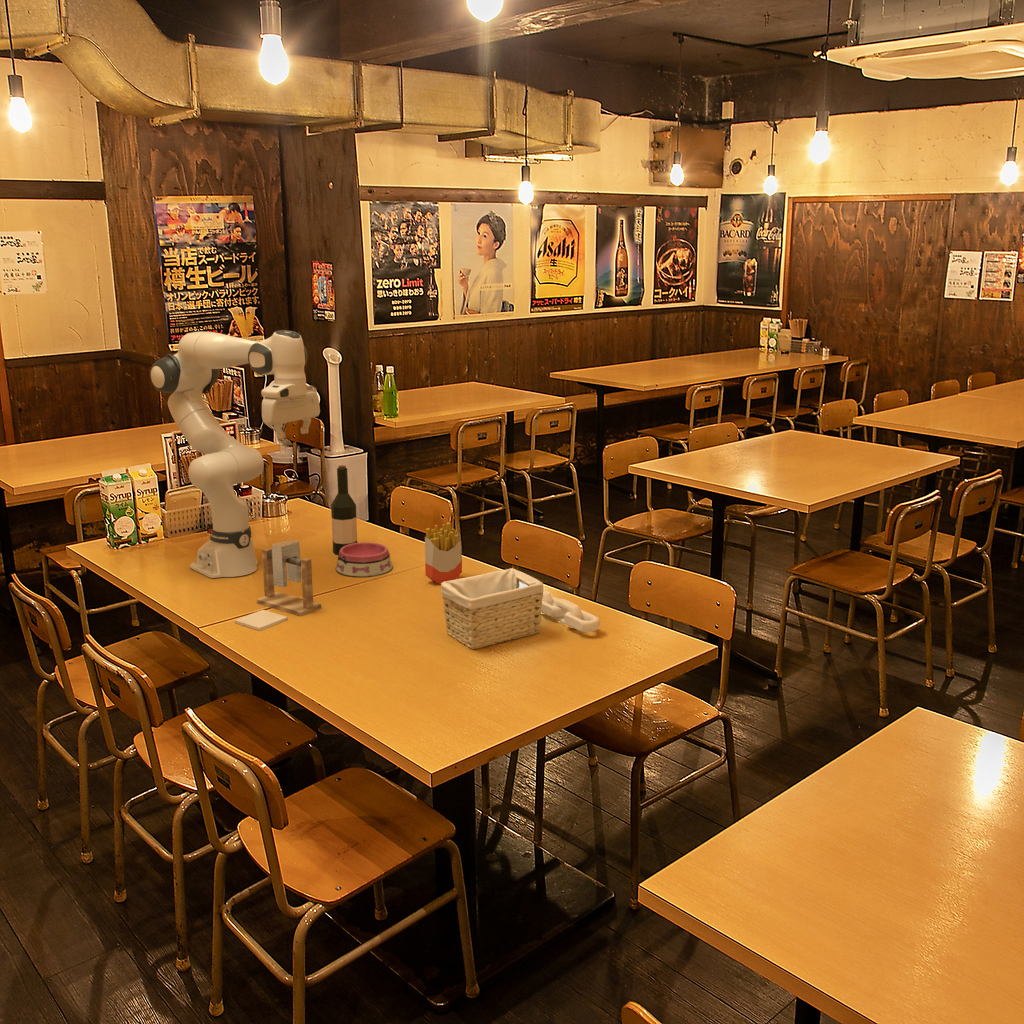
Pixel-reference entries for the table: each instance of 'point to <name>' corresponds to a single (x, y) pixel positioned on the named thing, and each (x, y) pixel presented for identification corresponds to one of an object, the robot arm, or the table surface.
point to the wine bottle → (343, 514)
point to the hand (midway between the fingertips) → (293, 436)
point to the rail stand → (284, 600)
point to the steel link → (279, 557)
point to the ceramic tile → (261, 620)
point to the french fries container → (443, 554)
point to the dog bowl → (363, 560)
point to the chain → (569, 613)
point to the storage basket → (492, 607)
